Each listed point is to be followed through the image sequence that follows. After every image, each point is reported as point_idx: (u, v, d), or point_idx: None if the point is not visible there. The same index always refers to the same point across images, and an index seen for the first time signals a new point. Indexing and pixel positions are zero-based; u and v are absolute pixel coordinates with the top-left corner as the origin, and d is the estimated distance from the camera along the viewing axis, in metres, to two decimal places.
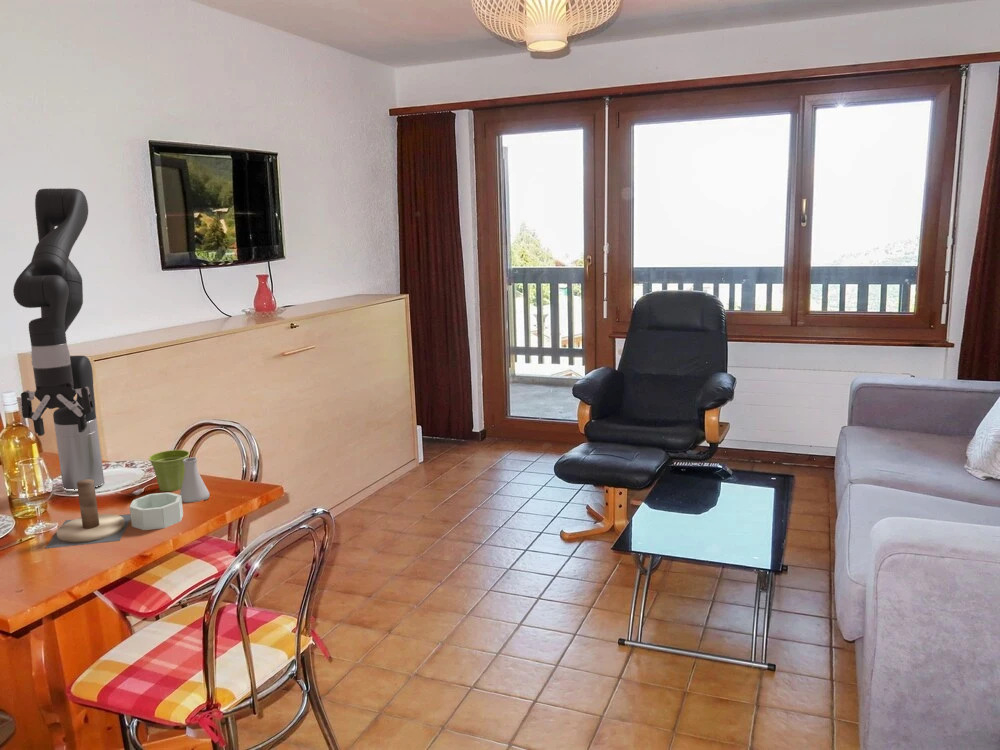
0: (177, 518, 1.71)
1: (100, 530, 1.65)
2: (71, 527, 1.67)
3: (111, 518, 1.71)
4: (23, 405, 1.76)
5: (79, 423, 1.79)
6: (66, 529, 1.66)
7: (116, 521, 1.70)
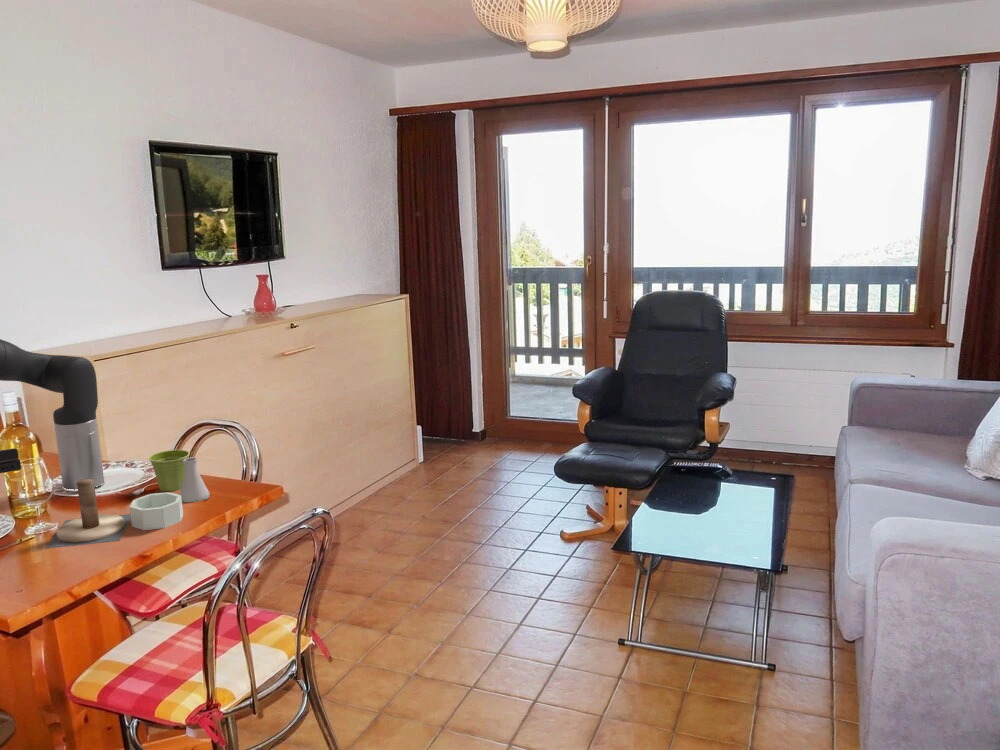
0: (177, 518, 1.71)
1: (100, 530, 1.65)
2: (71, 527, 1.67)
3: (111, 518, 1.71)
4: None
5: None
6: (66, 529, 1.66)
7: (116, 521, 1.70)
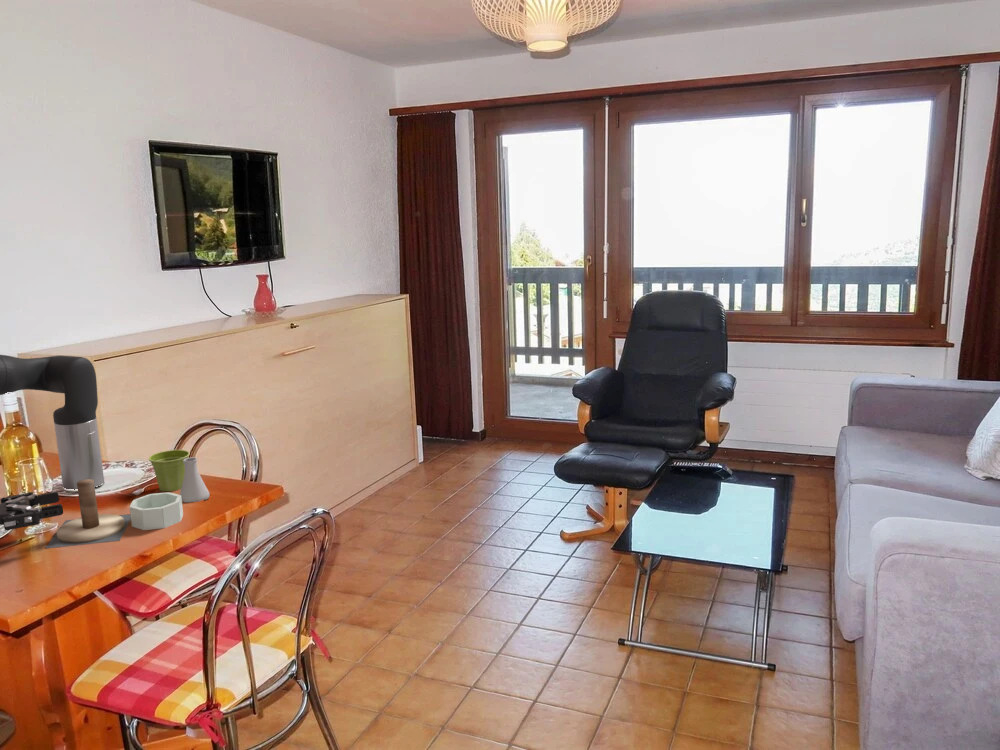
0: (177, 518, 1.71)
1: (100, 530, 1.65)
2: (71, 527, 1.67)
3: (111, 518, 1.71)
4: None
5: None
6: (66, 529, 1.66)
7: (116, 521, 1.70)
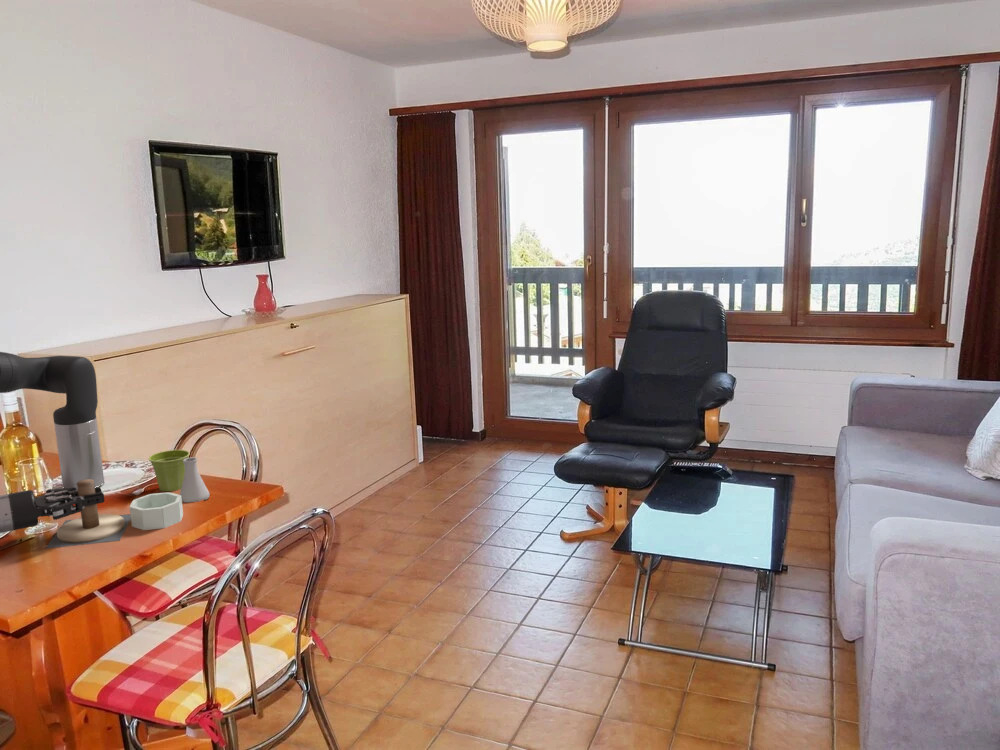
0: (177, 518, 1.71)
1: (100, 530, 1.65)
2: (71, 527, 1.67)
3: (112, 518, 1.71)
4: None
5: None
6: (66, 529, 1.66)
7: (116, 521, 1.70)
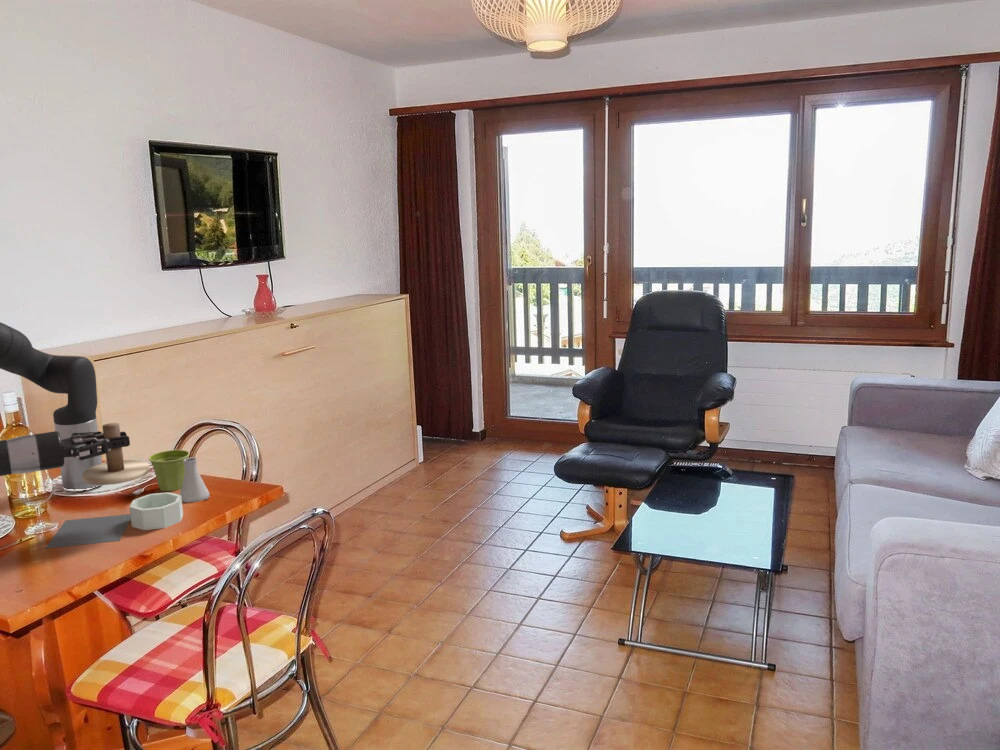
0: (177, 518, 1.71)
1: (125, 474, 1.65)
2: (96, 470, 1.67)
3: (136, 463, 1.71)
4: None
5: None
6: (91, 472, 1.66)
7: (141, 466, 1.69)
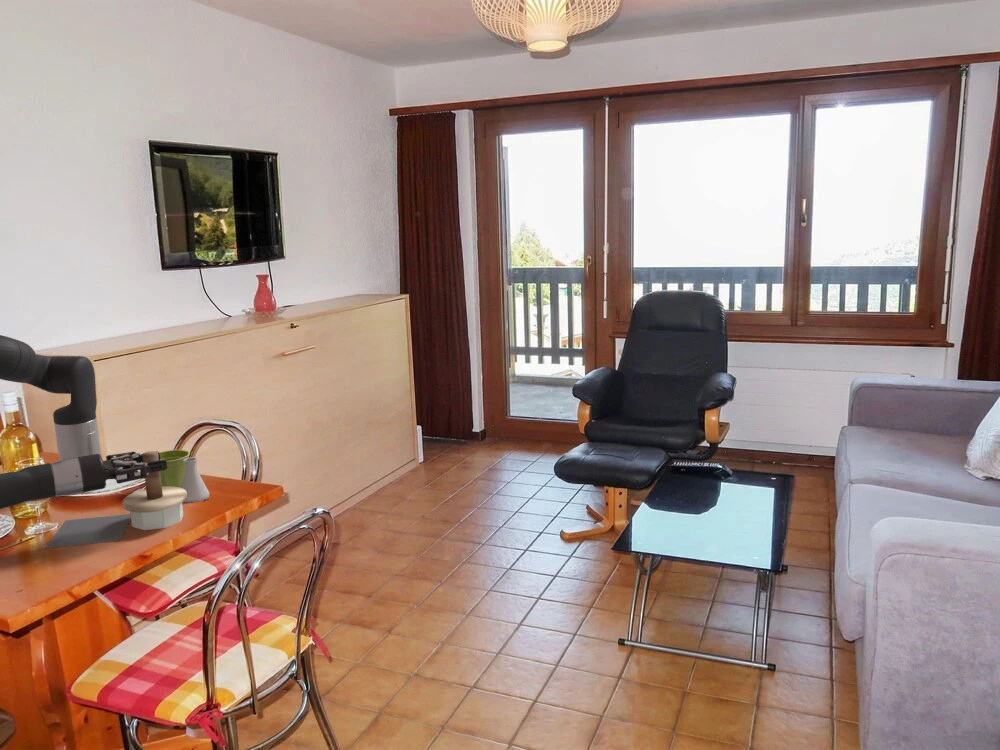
0: (177, 518, 1.71)
1: (165, 501, 1.69)
2: (136, 498, 1.71)
3: (174, 490, 1.75)
4: None
5: None
6: (131, 500, 1.70)
7: (178, 493, 1.74)
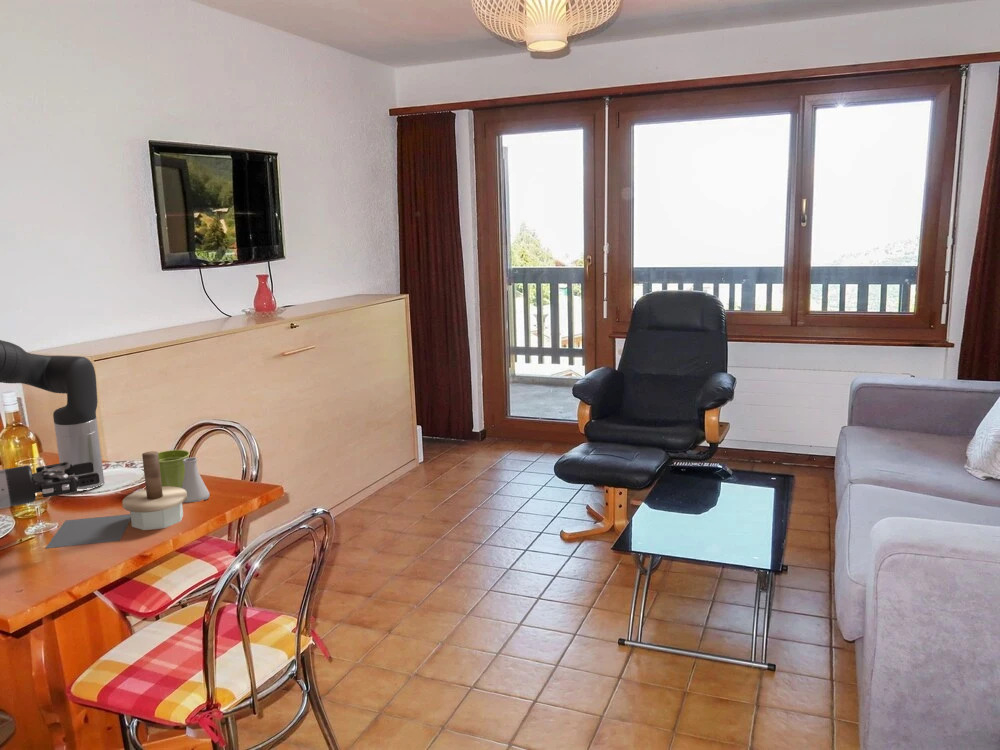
0: (177, 518, 1.71)
1: (165, 501, 1.69)
2: (136, 498, 1.71)
3: (174, 490, 1.75)
4: None
5: None
6: (131, 500, 1.70)
7: (178, 493, 1.74)
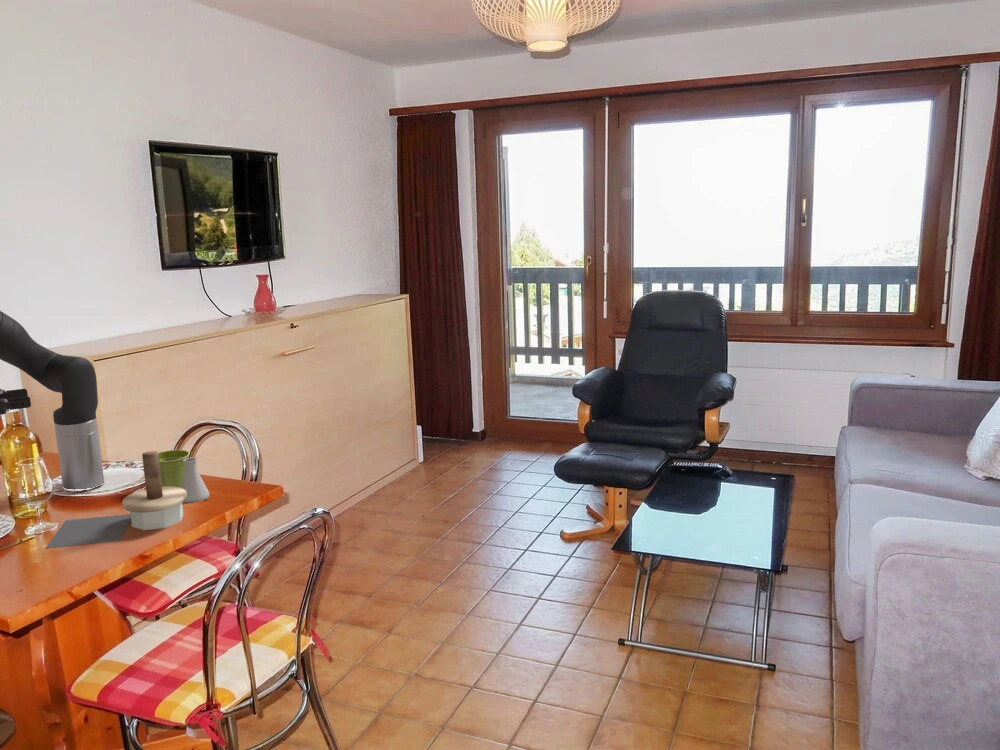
0: (177, 518, 1.71)
1: (165, 501, 1.69)
2: (136, 498, 1.71)
3: (174, 490, 1.75)
4: None
5: None
6: (131, 500, 1.70)
7: (178, 493, 1.74)
